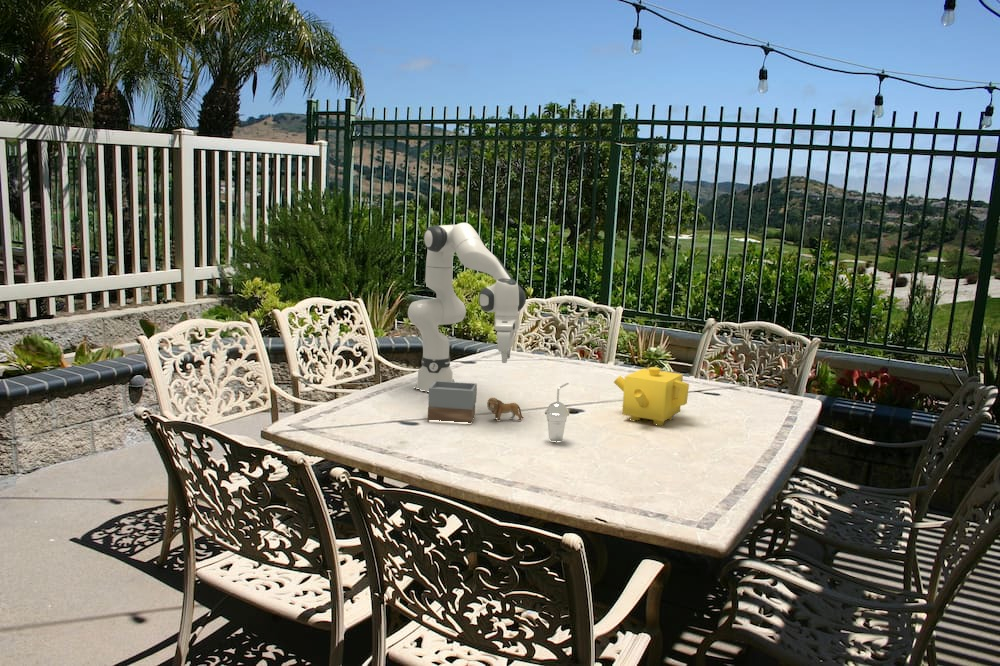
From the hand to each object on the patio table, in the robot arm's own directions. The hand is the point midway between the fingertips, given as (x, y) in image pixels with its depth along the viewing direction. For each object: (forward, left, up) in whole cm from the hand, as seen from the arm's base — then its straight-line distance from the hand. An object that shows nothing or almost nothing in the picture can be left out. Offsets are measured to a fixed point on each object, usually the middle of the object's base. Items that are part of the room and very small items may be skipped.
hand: (505, 360), depth 298 cm
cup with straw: (+22, +20, -23) cm, 37 cm away
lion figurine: (0, 0, -23) cm, 23 cm away
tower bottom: (+2, -19, -23) cm, 30 cm away
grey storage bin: (+2, -19, -17) cm, 26 cm away
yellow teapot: (-15, +55, -23) cm, 61 cm away
